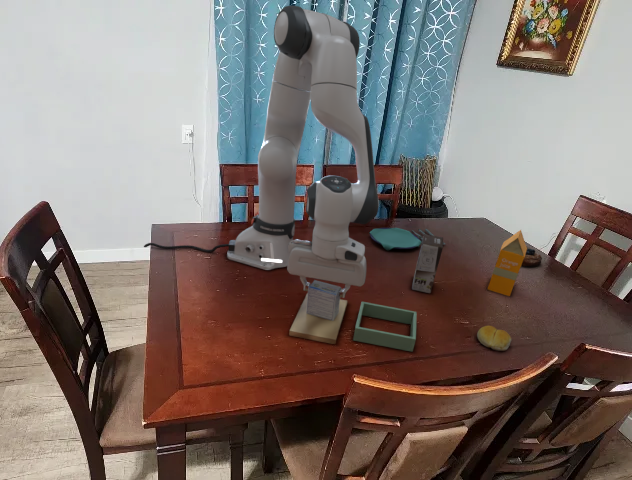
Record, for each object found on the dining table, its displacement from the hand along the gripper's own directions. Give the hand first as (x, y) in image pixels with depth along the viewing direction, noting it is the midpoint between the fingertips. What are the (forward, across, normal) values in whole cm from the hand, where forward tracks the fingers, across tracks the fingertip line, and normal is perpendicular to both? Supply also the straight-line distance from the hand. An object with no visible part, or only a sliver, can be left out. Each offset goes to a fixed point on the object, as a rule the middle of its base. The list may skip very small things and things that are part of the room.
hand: (324, 293), depth 116 cm
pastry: (+9, +68, +68) cm, 96 cm away
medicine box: (+7, 0, 0) cm, 7 cm away
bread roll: (+9, +48, +5) cm, 49 cm away
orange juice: (+9, +55, +40) cm, 68 cm away
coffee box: (+9, +28, +31) cm, 42 cm away
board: (+8, 0, 0) cm, 8 cm away
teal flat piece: (+9, +21, +66) cm, 70 cm away
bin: (+8, +18, 0) cm, 19 cm away
